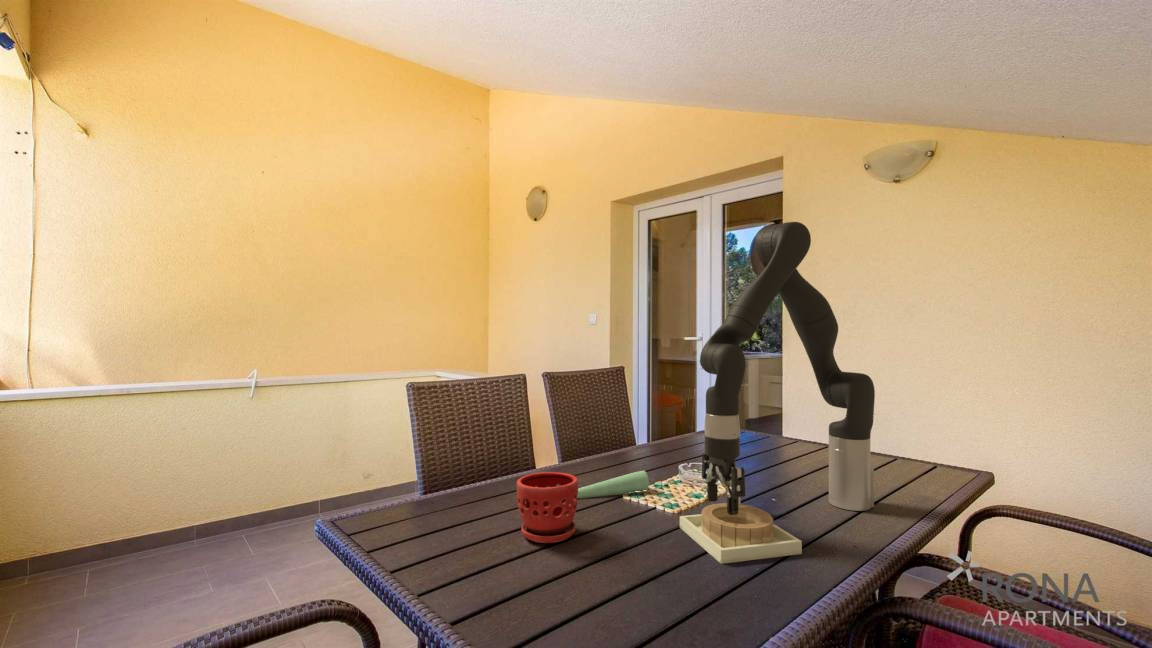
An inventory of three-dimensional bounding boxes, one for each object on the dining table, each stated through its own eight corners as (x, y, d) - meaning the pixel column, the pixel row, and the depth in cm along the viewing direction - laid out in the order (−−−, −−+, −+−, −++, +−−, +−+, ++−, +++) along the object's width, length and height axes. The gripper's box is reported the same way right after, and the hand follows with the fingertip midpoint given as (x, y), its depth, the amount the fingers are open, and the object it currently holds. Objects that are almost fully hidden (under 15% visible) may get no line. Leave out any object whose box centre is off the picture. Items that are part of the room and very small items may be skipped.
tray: (749, 520, 116) (749, 509, 116) (801, 553, 99) (801, 541, 99) (679, 527, 112) (679, 516, 112) (721, 563, 95) (721, 550, 95)
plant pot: (585, 527, 112) (586, 473, 112) (565, 552, 99) (565, 491, 99) (531, 519, 116) (532, 467, 116) (505, 542, 104) (506, 484, 104)
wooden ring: (746, 520, 114) (746, 500, 114) (787, 546, 101) (787, 524, 101) (690, 526, 110) (690, 506, 111) (724, 554, 97) (724, 531, 97)
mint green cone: (547, 477, 132) (640, 468, 140) (547, 498, 132) (640, 487, 140) (553, 483, 126) (649, 473, 135) (553, 505, 126) (649, 494, 135)
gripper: (756, 440, 105) (756, 517, 105) (720, 426, 119) (720, 495, 119) (723, 442, 103) (723, 521, 103) (691, 428, 117) (691, 498, 117)
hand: (722, 507), depth 111 cm, fingers open, 8 cm apart
